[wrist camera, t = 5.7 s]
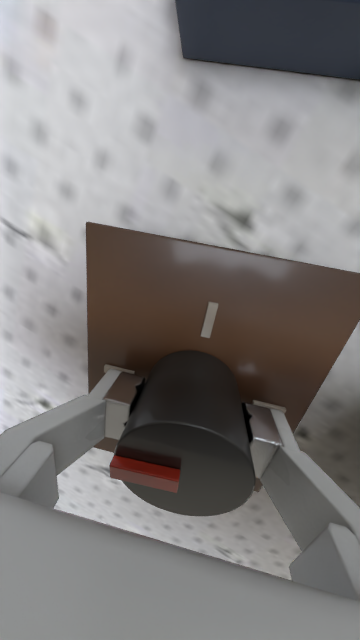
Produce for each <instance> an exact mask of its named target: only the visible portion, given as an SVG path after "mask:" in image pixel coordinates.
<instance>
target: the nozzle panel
mask: <svg viewBox="0 0 360 640" xmlns="http://www.w3.org/2000/svg"><path fill="white" fill-rule="evenodd" d="M86 262H87V327H88V392H89V393H90V392H91V391H92V390H93V389H94V387H95V386H96V385H97V384H98V382H99V381H100V380H101V379H102V377H103V376H104V375H105V374H106V373H107V371H108V370H110V369H115V370H119V371H122V372H127V373H131V374H134V375H138V376H142V377H145V383H146V381H147V378H148V376H149V374H150V372H151V370H152V368H153V367H154V365H155V364H156V363H157V362H158V361H159V360H160V359H162V358H163V357H165V356H167V355H169V354H171V353H174V352H178V351H185V350H192V351H200V352H204V353H207V354H210V355H212V356H214V357H216V358H218V359H219V360H221V361H222V362H223V363H224V364H226V365H227V366H228V367H229V369H230V370H231V371H232V373H233V374H234V376H235V378H236V381H237V385H238V389H239V394H240V399H241V403H242V402H246V403H250V404H255V405H259V406H263V407H267V408H272V409H277V410H281V411H282V412H283V413H284V415H285V417H286V420H287V422H288V424H289V426H290V429H291V431H292V433H294V431H295V429H296V428H297V426H298V424H299V422H300V421H301V419H302V417H303V416H304V414H305V412H306V411H307V409H308V407H309V405H310V404H311V402H312V400H313V399H314V397H315V395H316V393H317V392H318V390H319V388H320V387H321V385H322V383H323V382H324V380H325V378H326V376H327V375H328V373H329V371H330V370H331V368H332V366H333V365H334V363H335V361H336V359H337V358H338V356H339V354H340V353H341V351H342V349H343V347H344V346H345V344H346V342H347V341H348V339H349V337H350V336H351V334H352V332H353V330H354V329H355V327H356V325H357V324H358V322H359V320H360V273H356V272H350V271H345V270H340V269H335V268H329V267H324V266H319V265H313V264H308V263H303V262H298V261H292V260H287V259H282V258H276V257H271V256H266V255H261V254H255V253H250V252H245V251H240V250H234V249H229V248H224V247H218V246H213V245H208V244H203V243H197V242H192V241H187V240H181V239H176V238H171V237H166V236H160V235H155V234H150V233H144V232H139V231H134V230H129V229H123V228H118V227H113V226H108V225H102V224H97V223H92V222H86ZM118 441H119V440H117V439H113V438H108V437H104V439H102V440H101V441H100V442H99V443H97V444H96V445H95V446H94V447H95V448H98V449H102V450H106V451H109V452H113V453H114V452H115V448H116V445H117V443H118ZM262 486H263V485H262V483H261V481H260V479H259V478H256V481H255V487H254V490H253V491H256V492H259V491H260V489H261V487H262Z"/></svg>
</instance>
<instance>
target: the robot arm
mask: <svg viewBox="0 0 360 640" xmlns="http://www.w3.org/2000/svg"><path fill="white" fill-rule="evenodd" d="M144 385H145V377H142V376H138V375H134V374H131V373H127V372H122V371H119V370H115V369H110V370H108V371H107V373H106V374H105V375H104V376H103V377H102V379H101V380H100V381H99V382H98V384H97V385H96V386H95V387H94V389H93V390H92V391H91V392H90V393H89V395H88V396H86V395H83V396H80V397H78V398H76V399H74V400H71V401H69V402H67V403H65V404H63V405H60V406H58V407H56V408H54V409H51V410H49V411H47V412H45V413H42V414H40V415H38V416H36V417H34V418H31V419H29V420H27V421H25V422H22V423H20V424H18V425H16V426H13V427H11V428H9V429H7V430H5V431H4V432H3V433H2V434H1V435H0V640H360V508H359V507H358V506H357V505H356V504H355V502H354V501H353V500H352V499H351V498H350V497H349V496H348V495H347V494H346V493H345V492H344V491H343V490H342V489H341V488H340V487H339V486H338V485H337V484H336V483H335V482H334V481H333V480H332V479H331V478H330V477H329V476H328V475H327V474H326V473H325V472H324V471H323V470H322V469H321V468H320V467H319V466H318V465H317V464H316V463H315V462H314V461H313V460H312V459H311V458H310V457H309V456H308V455H307V454H306V453H305V452H302V451H300V449H299V446H298V444H297V442H296V440H295V438H294V435H293V433H292V431H291V429H290V426H289V424H288V422H287V420H286V417H285V415H284V413H283V412H282V411H281V410H277V409H272V408H267V407H263V406H259V405H255V404H250V403H246V402H242V403H241V404H242V409H243V414H244V419H245V424H246V429H247V434H248V439H249V444H250V449H251V454H252V459H253V464H254V469H255V475H256V478H259V479H260V481H261V483H262V485H263V486H264V488H265V490H266V491H267V493H268V495H269V496H270V498H271V500H272V502H273V503H274V505H275V507H276V508H277V510H278V512H279V513H280V515H281V517H282V518H283V520H284V522H285V524H286V525H287V527H288V529H289V530H290V532H291V534H292V535H293V537H294V539H295V541H296V542H297V544H298V546H299V547H300V549H301V551H302V552H301V553H300V554H299V555H298V556H297V557H296V558H295V560H294V561H293V562H292V563H291V565H290V566H289V569H290V573H291V577H292V581H291V580H288V579H284V578H281V577H278V576H275V575H271V574H268V573H265V572H261V571H258V570H255V569H251V568H248V567H245V566H242V565H238V564H235V563H232V562H228V561H225V560H222V559H219V558H215V557H212V556H209V555H205V554H202V553H199V552H196V551H192V550H189V549H186V548H182V547H179V546H176V545H173V544H169V543H166V542H163V541H159V540H156V539H153V538H150V537H146V536H143V535H140V534H136V533H133V532H130V531H127V530H123V529H120V528H117V527H113V526H110V525H107V524H104V523H100V522H97V521H94V520H90V519H87V518H84V517H80V516H77V515H74V514H71V513H67V512H64V511H61V510H57V509H54V506H55V504H56V503H57V501H58V499H59V494H58V485H57V477H56V476H57V475H58V474H59V473H61V472H62V471H63V470H64V469H66V468H67V467H68V466H70V465H71V464H72V463H73V462H75V461H76V460H77V459H78V458H80V457H81V456H82V455H83V454H85V453H86V452H87V451H88V450H90V449H91V448H92V447H94V446H95V445H96V444H97V443H99V442H100V441H101V440H102V439H104V437H108V438H113V439H117V440H119V439H120V437H121V434H122V432H123V430H124V428H125V426H126V424H127V422H128V419H129V417H130V415H131V413H132V411H133V409H134V406H135V404H136V402H137V400H138V398H139V396H140V394H141V391H142V389H143V387H144Z"/></svg>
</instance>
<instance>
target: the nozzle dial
mask: <svg viewBox="0 0 360 640" xmlns="http://www.w3.org/2000/svg"><path fill="white" fill-rule="evenodd" d="M110 477H111V478H114V479H118V480H122V481H123V483H124V484H125V485H126V486H127V487H128V488H129V489H130V490H131V491H132V492H133V493H134V494H136V495H137V496H138V497H140V498H141V499H143V500H144V501H146V502H148V503H150V504H152V505H154V506H156V507H158V508H161V509H163V510H166V511H169V512H173V513H177V514H182V515H189V516H213V515H219V514H223V513H227V512H230V511H232V510H234V509H236V508H238V507H240V506H241V505H243V504H244V503H245V502H246V501H247V500H248V499H249V498H250V496H251V494H252V493H253V490H254V487H255V481H256V475H255V469H254V464H253V459H252V454H251V449H250V444H249V439H248V434H247V429H246V424H245V419H244V414H243V409H242V404H241V399H240V394H239V389H238V385H237V381H236V378H235V376H234V374H233V373H232V371H231V370H230V369H229V367H228V366H227V365H226V364H224V363H223V362H222V361H221V360H219V359H218V358H216V357H214V356H212V355H210V354H207V353H204V352H200V351H192V350H185V351H178V352H174V353H171V354H169V355H167V356H165V357H163V358H162V359H160V360H159V361H158V362H157V363H156V364H155V365H154V367H153V368H152V370H151V372H150V374H149V376H148V378H147V381H146V383H145V385H144V387H143V389H142V391H141V394H140V396H139V398H138V400H137V402H136V404H135V406H134V409H133V411H132V413H131V415H130V417H129V419H128V422H127V424H126V426H125V428H124V430H123V432H122V434H121V437H120V439H119V441H118V443H117V445H116V448H115V452H114V457H113V459H112V461H111V463H110Z"/></svg>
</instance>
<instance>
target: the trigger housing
mask: <svg viewBox="0 0 360 640" xmlns="http://www.w3.org/2000/svg"><path fill="white" fill-rule="evenodd" d="M175 2H176V10H177V17H178V24H179V31H180V38H181V45H182V52H183V57H184V58H191V59H199V60H207V61H215V62H223V63H231V64H239V65H247V66H255V67H263V68H271V69H279V70H287V71H295V72H303V73H311V74H319V75H327V76H335V77H343V78H351V79H360V0H175Z"/></svg>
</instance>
